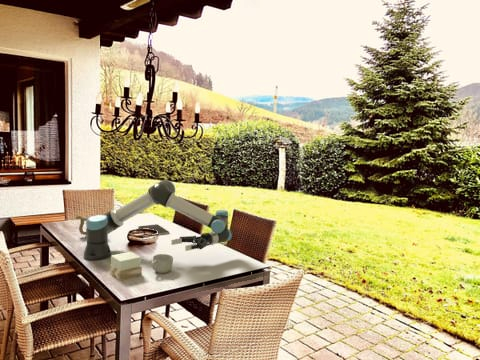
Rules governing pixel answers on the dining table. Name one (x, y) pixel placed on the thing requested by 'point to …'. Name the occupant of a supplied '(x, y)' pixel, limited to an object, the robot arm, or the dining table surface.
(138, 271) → the tower base
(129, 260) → the tower top
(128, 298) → the dining table surface
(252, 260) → the dining table surface
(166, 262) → the teacup
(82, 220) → the tankard
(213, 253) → the dining table surface
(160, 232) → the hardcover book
